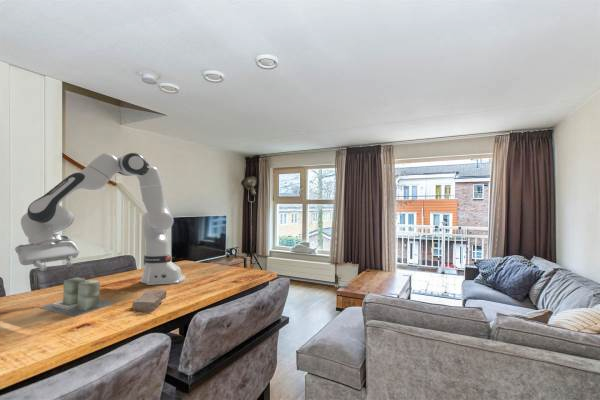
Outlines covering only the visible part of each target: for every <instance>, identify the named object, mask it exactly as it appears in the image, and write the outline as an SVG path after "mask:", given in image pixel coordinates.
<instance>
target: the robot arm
mask: <svg viewBox="0 0 600 400" xmlns="http://www.w3.org/2000/svg"><path fill="white" fill-rule="evenodd" d="M116 174H119V175H122V176H125V177H127V176H129V177H130V176H135V177H137V180H138V183H139V188H140V194H141V200H142V203H143V205H144V206H145V209H146V213H144V214H143V216H142V223H143V230H144V231H143V232H144V233H143V234H144V238H145V239H144V240H145V246H144V247H145V249H144V252H145V254H144V257H143V273H142V277H141V279H140V283H142V284H146V285H148V286H151V285H152V286H153V285H154V286H155V285H169V284H170V285H172V284H180V283H182V282H185V280H186V275H182V270H181V269H182V268H181V267H180V266H178V265H177V264H175V262H172V255H170V254H168V245H169V244H168V243H169V240H168V238H167V233H166V231H167V230H168V229H170V228H171V227H173V225H174V220H175V219H174V217H173V215H172V214H171V211H170V208H169V206H168V203H167V201H166V196H165V190H164V186H163V181H162V177H161V173H160V172H159V169H158V168H157V166H154V165H150V164H149V163H148V161H146V158H145V157H143V156H142V155H141V154H140V153H136V152H130V153H126V154H123V155H121V156H119V157H117V156H116V155H113V154H112V153H107V152H104V153H101V154H99V155H98V156H97V157H95V158H94V159H93V160H92V161H91V162H90V163H88V165H86V167H84V168H83V169H82V170H80V171H78V172H74V173H72V174H69V175H68V176H66V178H64V179H63V180H61V181H60V182H59V183H58V184H57V185H54V187H53V188H51V189H50V190H49V191H48V192H46V193H45V194H44V195H42V196H41V197H39V198H37V199H35V200H33V201H32V202H31V203H30V204H29V205H28V207H27V212H26V213H24V214H23V215H22V217H21V219H20V226H21V229H22V231H23V233H24V236H26V237H27V238H28V240H27V241H28V243H27V244H19V245H18V246H16V247H15V248H14V250H15V252H16V254H18V255H17V256H18V261H19V263H20V265H23V266H29V265H31V266H32V265H33V266H34V267H36V268H37V269H39V270H40V272H46V271H47V270H48V267H47V265H46V263H50V262H57V261H64V260H66V261H67V262H66V263H65V265H66V267H67V268H69V267H72V266H73V265H74V264H73V261H72V260H73V259H76V258H77V257H78V256H79V254H80V249H79V248H78V246H77V245H76V244H75V242H73V241H72V240H71V239H72V238H71V237H70V236H69V235H62V234H57V232H61V231H62V230H65V229H67V228H69V227H70V226H71V225H72V224H73V222H74V219H75V215H74V213H73V212H72V211H71V210H68V209H67V208H66V207H63V206H61V205H60V203H61V202H62V201H64V200H65V199H66V198H67V197H68V196H69V195H71V194H72V193H73V192H75V191H76V190H79V189H80V190H81V189H85V190H93V191H95V190H100V189H102V188H104V187H105V186H106V185H107V184H108V182H109V181H111V179H112V178H113V177H114V175H116ZM43 263H45V264H43Z"/></svg>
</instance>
